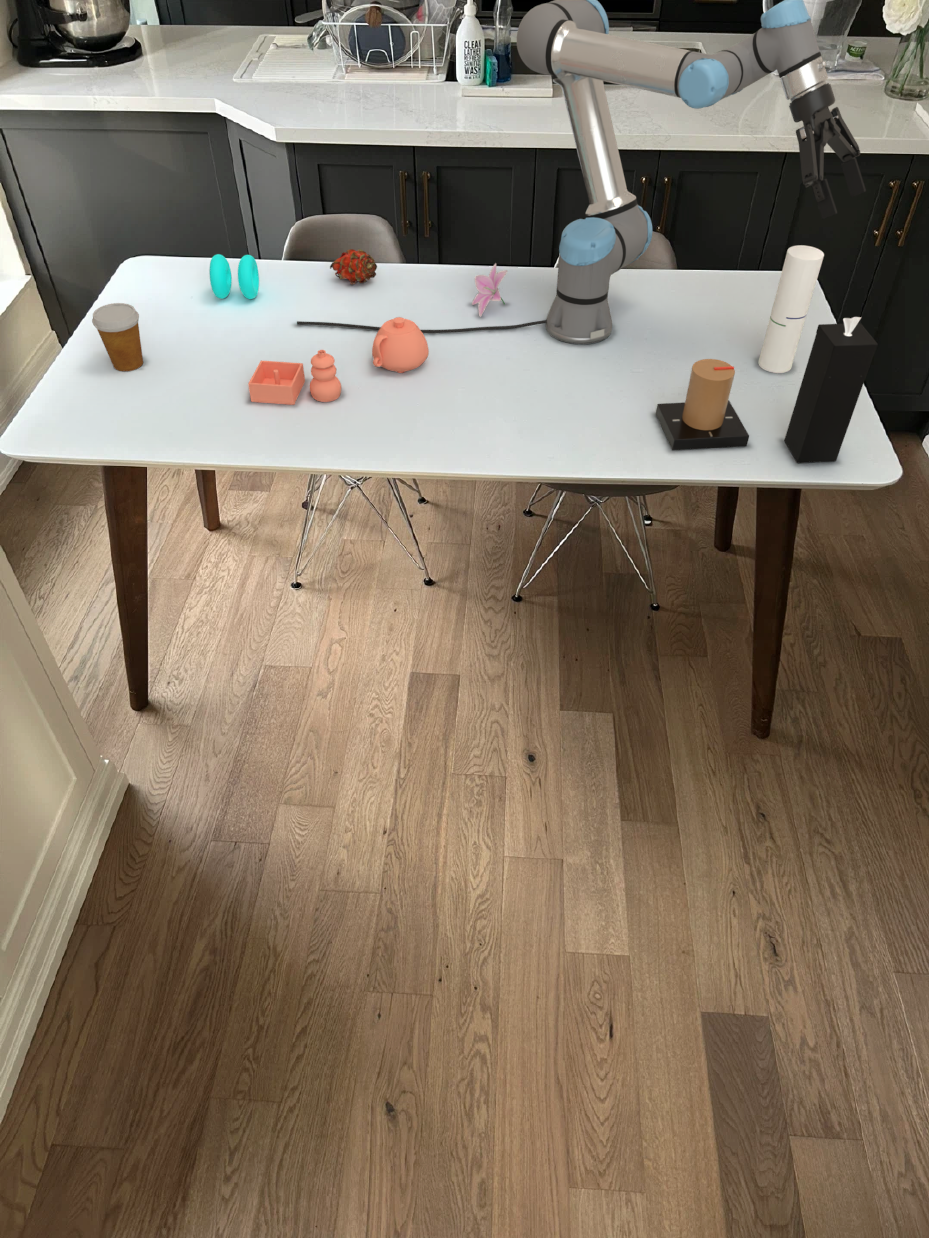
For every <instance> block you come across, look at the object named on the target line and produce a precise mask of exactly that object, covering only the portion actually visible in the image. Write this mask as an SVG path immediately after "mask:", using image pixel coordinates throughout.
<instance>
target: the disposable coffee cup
mask: <svg viewBox="0 0 929 1238" xmlns="http://www.w3.org/2000/svg"><path fill="white" fill-rule="evenodd" d="M139 319H140V314H139V312H138V311H137V310H136V308H135V307H134V306H133V305H132V304H129V303H125V302H124V303H123V302H113V303H107V304H104V305H102V306H99V307H98V308H96V309H95V310H94V311H93V313H92V319H91V323H92V325H93V326H94V327H95V328H96V330H97V332H98V335H99V337H100V339H101V342H102V344H103V346H104V348H105V351H106V352H107V355H108V357H109V359H110V362H111V364H112V366H113V369H114V370H117V371H119V372H131V371H135V370H138V369H139V368H141V367H142V366H143V364H144V358H143V351H142V350H143V349H142V342H141V334H140V326H139Z"/></svg>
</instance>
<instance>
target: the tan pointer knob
mask: <svg viewBox="0 0 929 1238" xmlns="http://www.w3.org/2000/svg"><path fill="white" fill-rule="evenodd" d="M735 374H736V370H735V366H733V365H731V364H730V363H728V362H726V361H724V360H721V359H716V358H702V359H699V360H696V361H695V362H694V363H693V364H692V366H691V371H690V375H689V376H690V377H689V381H688V385H687V391H686V395H685V396H686V397H685V400H684V402H685V405H684V410H683V415H682V419H683V421H684V422H685V423H686V424H687V425H688V426H690V427H692V428H695V429H699V430H714V429H717V428H719V427H720V426H721V425H722V424H723V420H724V416H725V412H726V408H727V403H728V400H730V395H731V391H732V387H733V383H734V379H735Z"/></svg>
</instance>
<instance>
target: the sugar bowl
mask: <svg viewBox="0 0 929 1238" xmlns="http://www.w3.org/2000/svg"><path fill="white" fill-rule="evenodd" d="M380 327H381V328H380V329H379V330H377V333H376V334H375V337H374V339H373V342H372V347H371V355H372V358H373V360H372V364H373V366H374V367H376V368H380V367H382V368H383V369H385V370H388V371H392V372H396V373H398V374H404V373H405V372H408V371H412V370H415V369H417V368H419V367H421V366H422V364H424V363H425V361H427V358H428V356H429V352H430V351H429V350H430V349H429V345H428V342H427V338H426V337H425V335H424V333H422V332H421V330H422V329H420V327H419V326H418V325H417V323H416V322H414V321H413V320H412V319H408V318H404V317H402V316H401V317H400V316H398V317H394V318H391V319H388V320H386V321H385V322H384V323H383V324H382V325H381V326H380Z"/></svg>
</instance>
